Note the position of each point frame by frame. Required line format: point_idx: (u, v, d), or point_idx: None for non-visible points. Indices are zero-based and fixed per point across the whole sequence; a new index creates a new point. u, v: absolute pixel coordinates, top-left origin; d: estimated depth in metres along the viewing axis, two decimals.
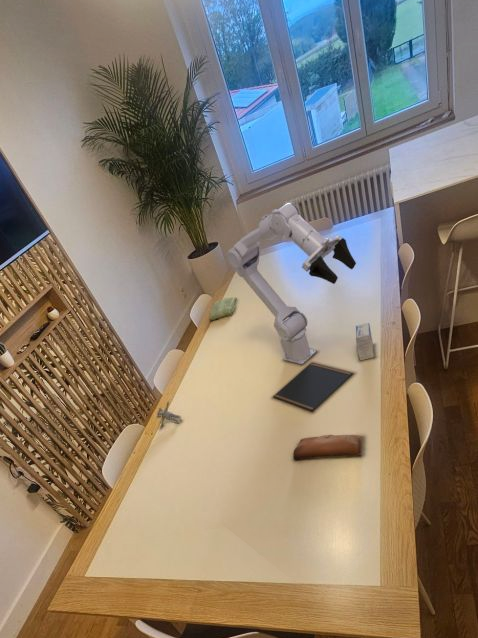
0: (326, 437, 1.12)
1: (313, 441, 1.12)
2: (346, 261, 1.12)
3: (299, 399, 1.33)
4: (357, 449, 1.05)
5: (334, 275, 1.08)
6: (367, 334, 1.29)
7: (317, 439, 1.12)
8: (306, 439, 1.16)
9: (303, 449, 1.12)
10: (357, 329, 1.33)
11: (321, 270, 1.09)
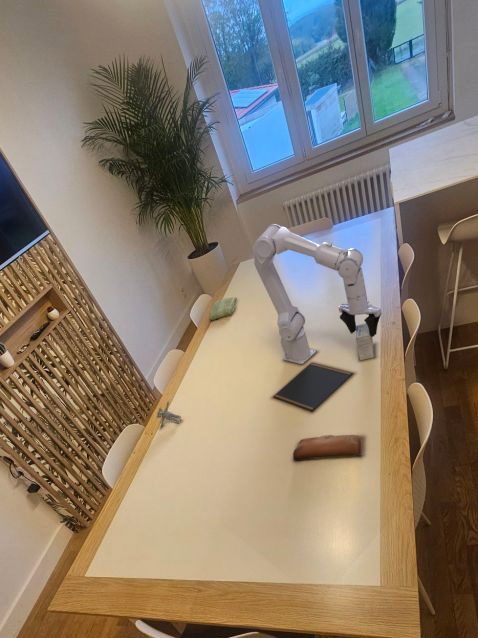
0: (326, 437, 1.12)
1: (313, 441, 1.12)
2: (351, 325, 1.34)
3: (299, 399, 1.33)
4: (357, 449, 1.05)
5: None
6: (367, 334, 1.29)
7: (317, 439, 1.12)
8: (306, 439, 1.16)
9: (303, 449, 1.11)
10: (357, 329, 1.33)
11: (372, 322, 1.26)
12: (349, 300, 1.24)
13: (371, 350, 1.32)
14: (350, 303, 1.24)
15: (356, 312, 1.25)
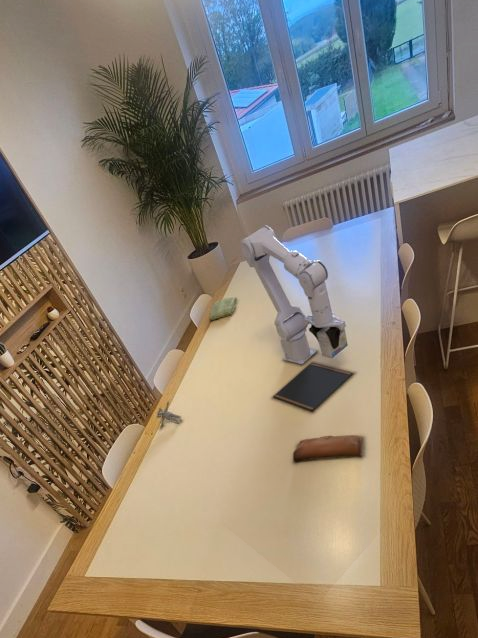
0: (326, 438, 1.11)
1: (313, 442, 1.11)
2: None
3: (299, 399, 1.33)
4: (357, 449, 1.05)
5: None
6: None
7: (317, 440, 1.12)
8: (305, 440, 1.16)
9: (303, 450, 1.11)
10: None
11: (333, 334, 1.25)
12: (313, 313, 1.21)
13: (329, 350, 1.28)
14: (314, 316, 1.22)
15: (321, 325, 1.22)
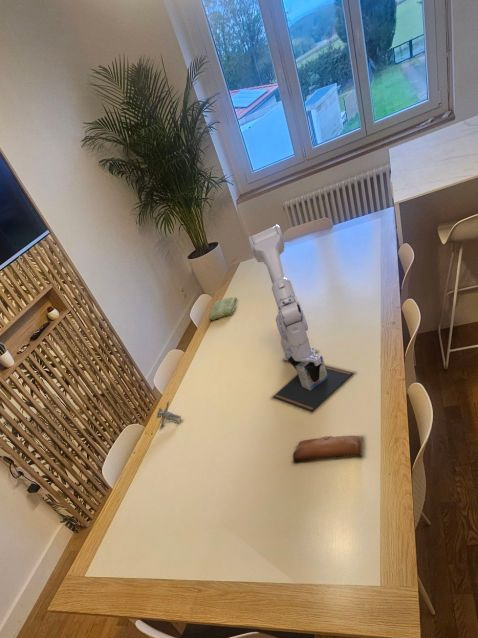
0: (325, 439, 1.11)
1: (313, 443, 1.11)
2: None
3: (299, 399, 1.33)
4: (357, 450, 1.05)
5: None
6: (303, 367, 1.29)
7: (316, 441, 1.12)
8: (305, 441, 1.15)
9: (303, 451, 1.11)
10: None
11: (313, 368, 1.27)
12: (291, 347, 1.25)
13: (307, 383, 1.32)
14: (292, 350, 1.25)
15: (298, 359, 1.26)
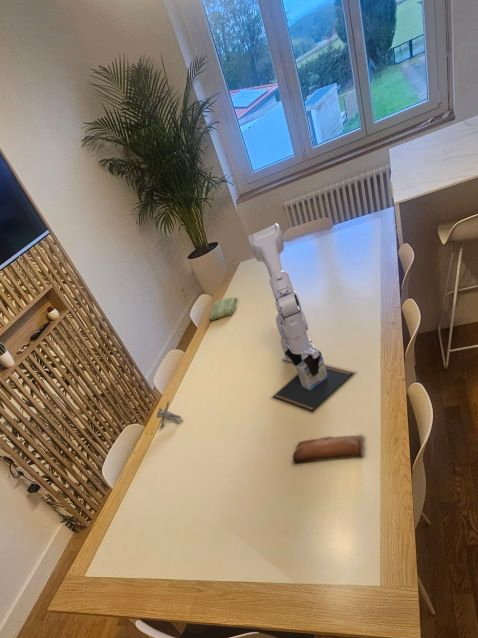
0: (325, 439, 1.11)
1: (312, 443, 1.11)
2: (297, 362, 1.33)
3: (299, 399, 1.33)
4: (357, 450, 1.05)
5: None
6: (303, 367, 1.29)
7: (316, 441, 1.11)
8: (305, 442, 1.15)
9: (303, 451, 1.11)
10: None
11: (312, 362, 1.25)
12: (289, 340, 1.23)
13: (307, 383, 1.32)
14: (290, 342, 1.24)
15: (296, 352, 1.24)
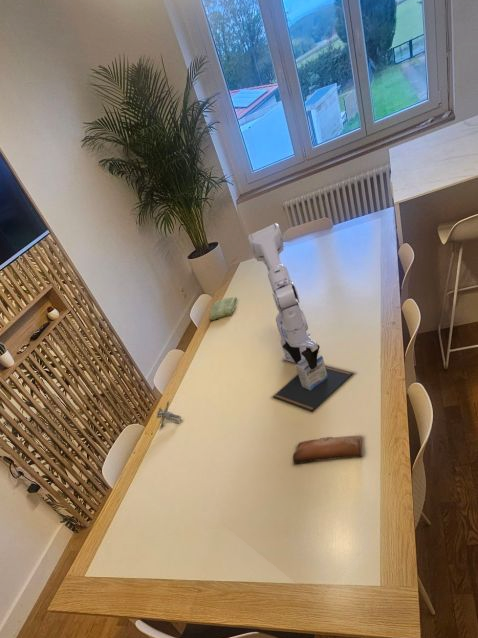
0: (325, 439, 1.11)
1: (312, 444, 1.11)
2: (295, 355, 1.31)
3: (299, 399, 1.33)
4: (358, 450, 1.05)
5: None
6: (303, 367, 1.29)
7: (316, 442, 1.11)
8: (305, 442, 1.15)
9: (302, 452, 1.11)
10: None
11: (310, 355, 1.24)
12: (287, 332, 1.22)
13: (307, 383, 1.32)
14: (288, 335, 1.22)
15: (294, 344, 1.23)
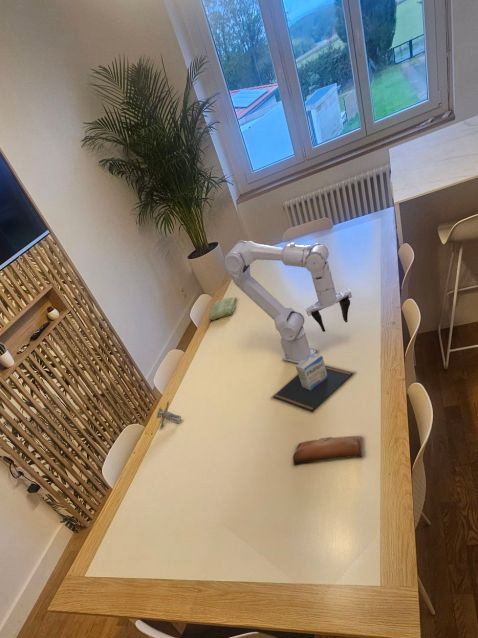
0: (325, 440, 1.11)
1: (312, 444, 1.11)
2: (322, 324, 1.35)
3: (299, 399, 1.33)
4: (358, 450, 1.05)
5: None
6: (303, 367, 1.29)
7: (316, 442, 1.11)
8: (304, 443, 1.15)
9: (303, 452, 1.11)
10: (308, 357, 1.32)
11: None
12: (326, 292, 1.26)
13: (307, 383, 1.32)
14: (327, 294, 1.27)
15: (334, 301, 1.28)
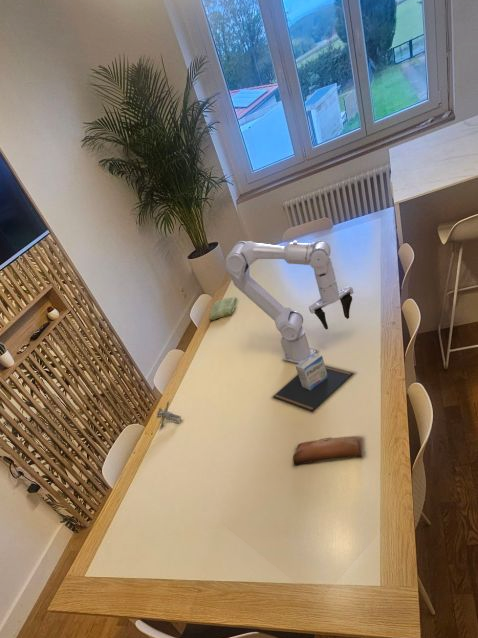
0: (325, 440, 1.11)
1: (312, 445, 1.11)
2: None
3: (299, 399, 1.33)
4: (358, 450, 1.05)
5: None
6: (303, 367, 1.29)
7: (316, 443, 1.11)
8: (304, 443, 1.15)
9: (303, 453, 1.11)
10: (308, 357, 1.32)
11: None
12: (329, 288, 1.27)
13: (307, 383, 1.32)
14: (331, 291, 1.27)
15: (337, 297, 1.29)
